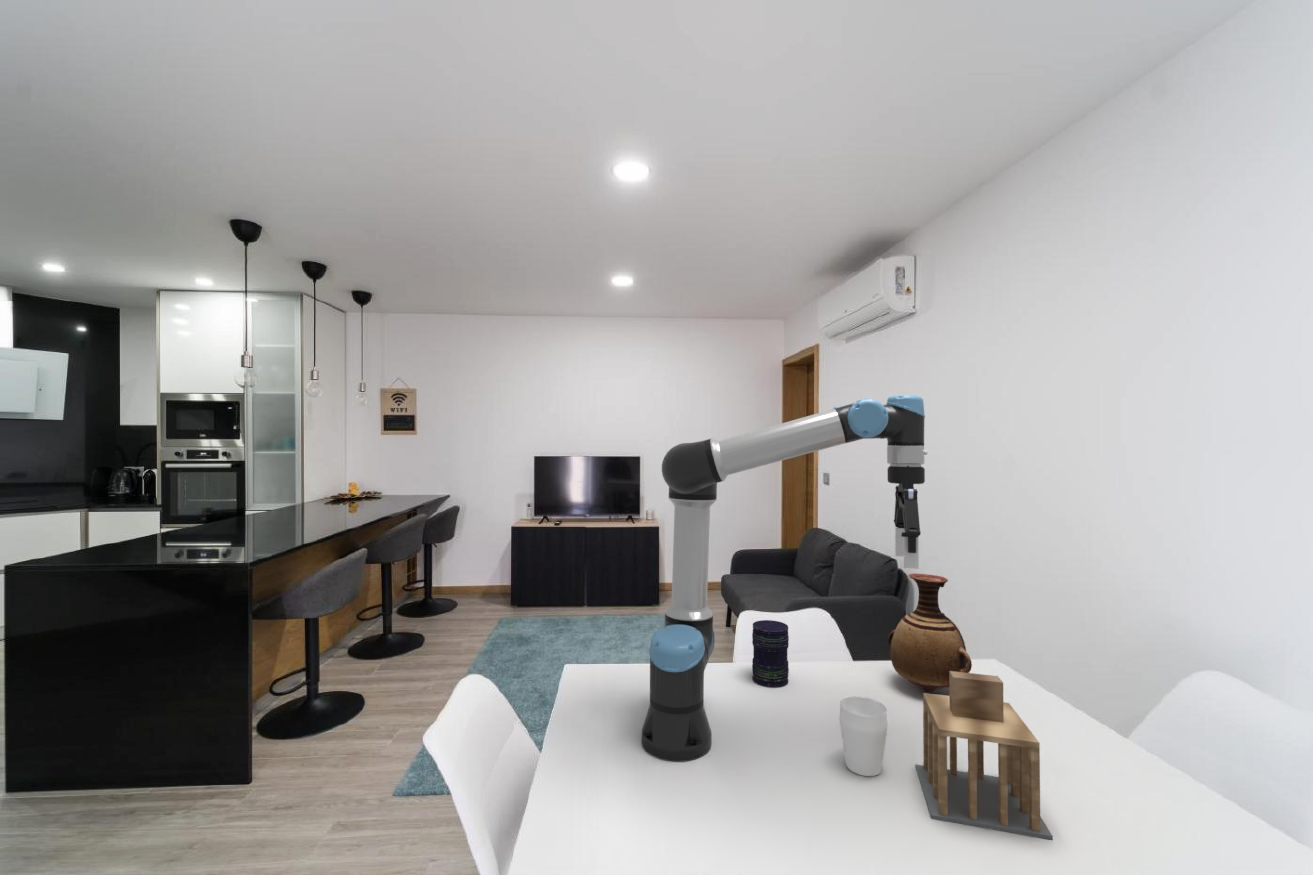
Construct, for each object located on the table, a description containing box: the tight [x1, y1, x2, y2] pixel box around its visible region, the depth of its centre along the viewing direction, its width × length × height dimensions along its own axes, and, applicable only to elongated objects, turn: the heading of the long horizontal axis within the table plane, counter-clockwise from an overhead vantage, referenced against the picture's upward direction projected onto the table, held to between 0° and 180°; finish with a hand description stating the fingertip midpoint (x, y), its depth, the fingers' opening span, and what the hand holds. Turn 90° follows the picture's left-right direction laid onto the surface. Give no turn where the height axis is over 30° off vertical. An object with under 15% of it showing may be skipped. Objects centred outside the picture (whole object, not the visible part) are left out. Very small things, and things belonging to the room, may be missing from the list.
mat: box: [914, 763, 1053, 841], centre depth 100 cm, size 18×16×1 cm
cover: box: [922, 671, 1041, 832], centre depth 100 cm, size 15×15×22 cm
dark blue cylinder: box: [751, 619, 790, 689], centre depth 152 cm, size 10×10×15 cm
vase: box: [887, 573, 973, 693], centre depth 146 cm, size 21×18×30 cm
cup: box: [838, 696, 889, 777], centre depth 110 cm, size 9×9×12 cm
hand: (906, 562), depth 122 cm, fingers open, 13 cm apart
